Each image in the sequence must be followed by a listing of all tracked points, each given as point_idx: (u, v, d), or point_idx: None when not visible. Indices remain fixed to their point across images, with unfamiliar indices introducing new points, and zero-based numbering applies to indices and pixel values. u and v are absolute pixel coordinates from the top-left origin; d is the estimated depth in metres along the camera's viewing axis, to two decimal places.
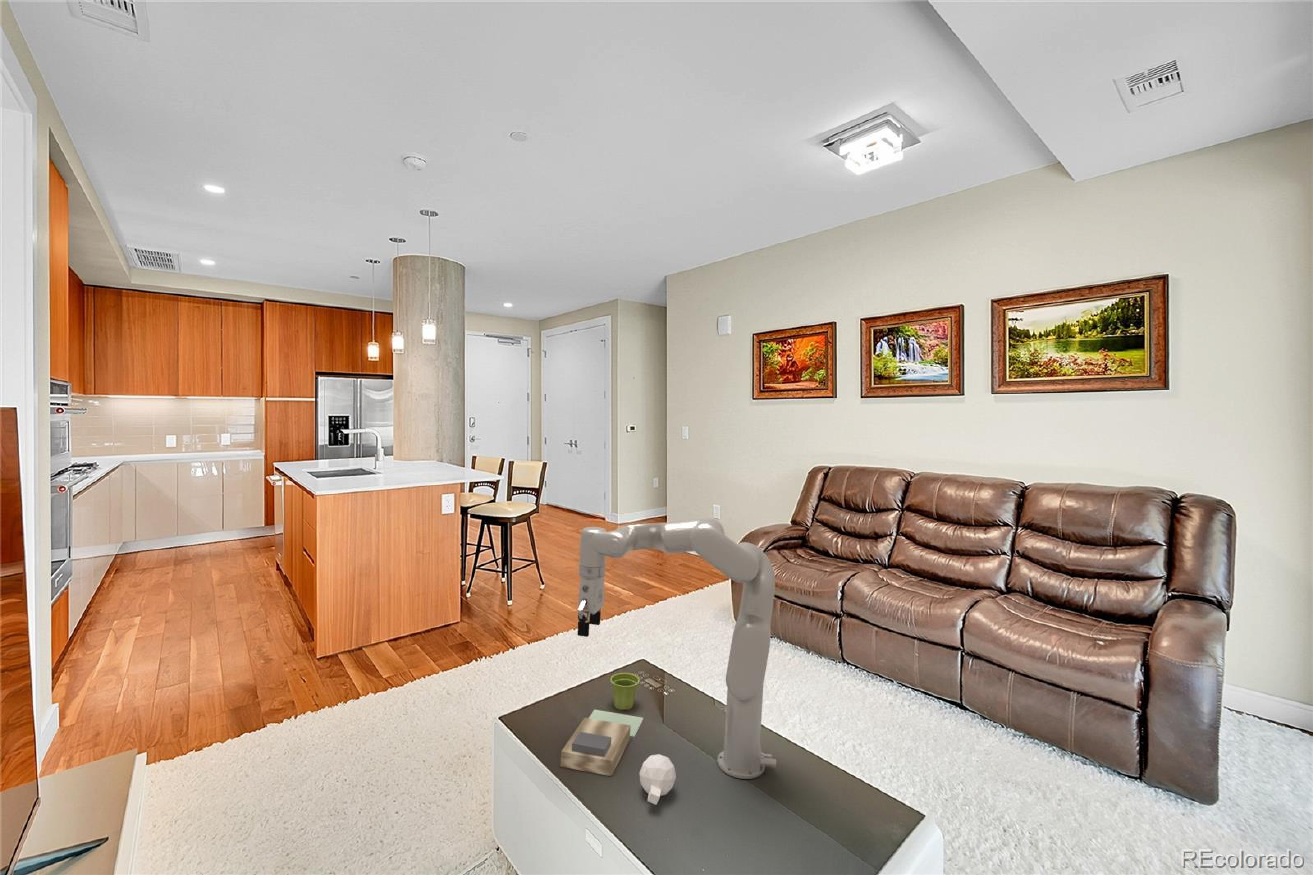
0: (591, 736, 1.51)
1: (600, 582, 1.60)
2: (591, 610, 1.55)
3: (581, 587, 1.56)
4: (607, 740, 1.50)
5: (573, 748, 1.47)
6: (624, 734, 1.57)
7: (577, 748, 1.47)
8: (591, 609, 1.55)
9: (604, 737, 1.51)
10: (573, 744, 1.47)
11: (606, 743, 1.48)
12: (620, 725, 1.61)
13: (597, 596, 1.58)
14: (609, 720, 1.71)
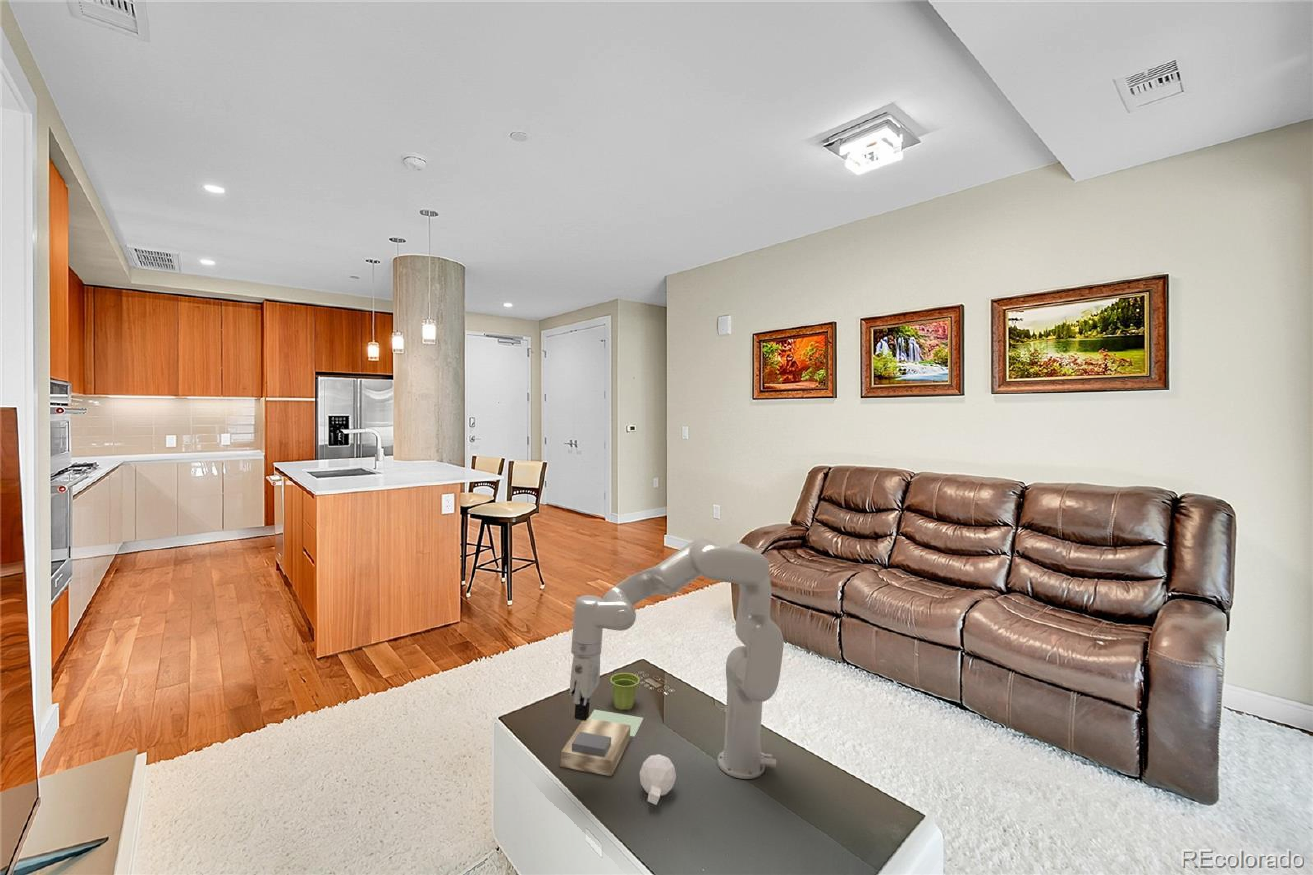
0: (591, 736, 1.51)
1: (596, 660, 1.40)
2: (584, 694, 1.36)
3: (574, 667, 1.37)
4: (607, 740, 1.50)
5: (573, 748, 1.47)
6: (624, 734, 1.57)
7: (577, 748, 1.47)
8: (585, 693, 1.36)
9: (604, 737, 1.51)
10: (573, 744, 1.47)
11: (606, 743, 1.48)
12: (620, 725, 1.61)
13: (592, 677, 1.38)
14: (609, 720, 1.71)
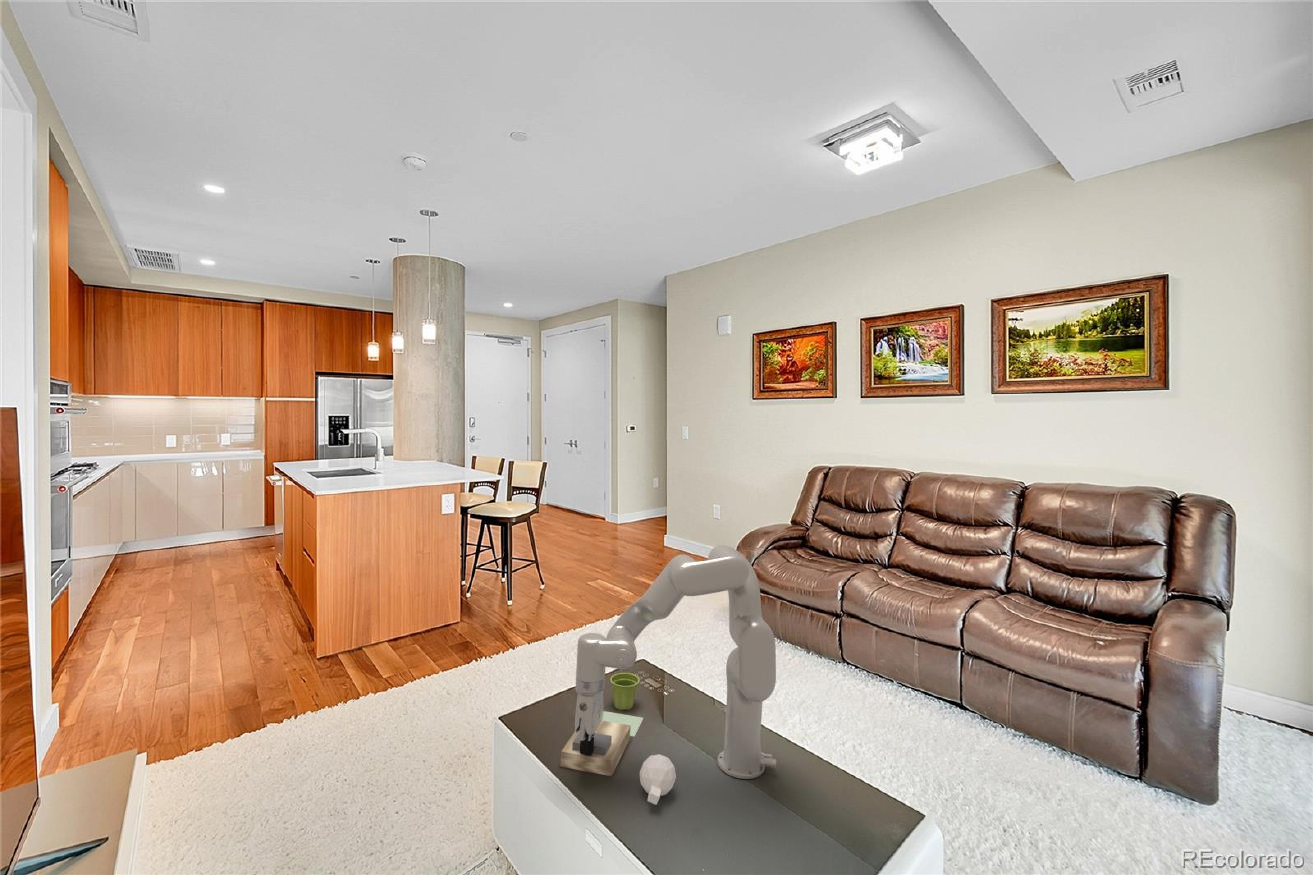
0: None
1: (599, 696, 1.45)
2: (589, 731, 1.40)
3: (578, 705, 1.41)
4: (607, 739, 1.50)
5: (574, 747, 1.48)
6: (624, 734, 1.57)
7: (578, 747, 1.48)
8: (589, 730, 1.40)
9: (604, 736, 1.52)
10: (574, 743, 1.48)
11: (607, 742, 1.49)
12: (620, 725, 1.61)
13: (596, 713, 1.42)
14: (609, 720, 1.71)
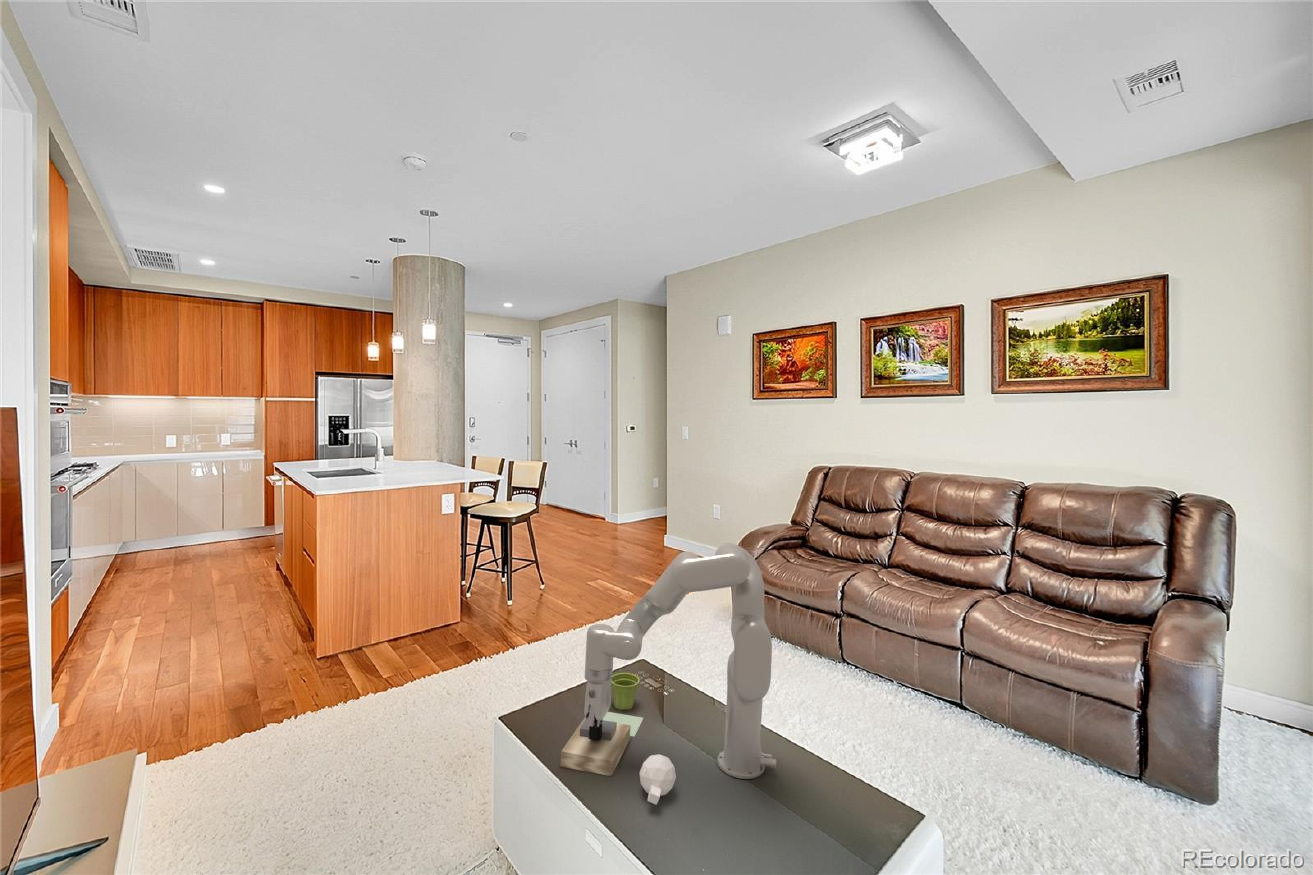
0: None
1: (607, 684, 1.52)
2: (598, 717, 1.47)
3: (587, 692, 1.48)
4: (613, 725, 1.57)
5: (581, 733, 1.55)
6: (624, 734, 1.57)
7: (585, 733, 1.54)
8: (598, 716, 1.47)
9: (610, 722, 1.59)
10: (581, 729, 1.55)
11: (612, 728, 1.56)
12: (620, 725, 1.61)
13: (604, 700, 1.49)
14: (609, 720, 1.71)
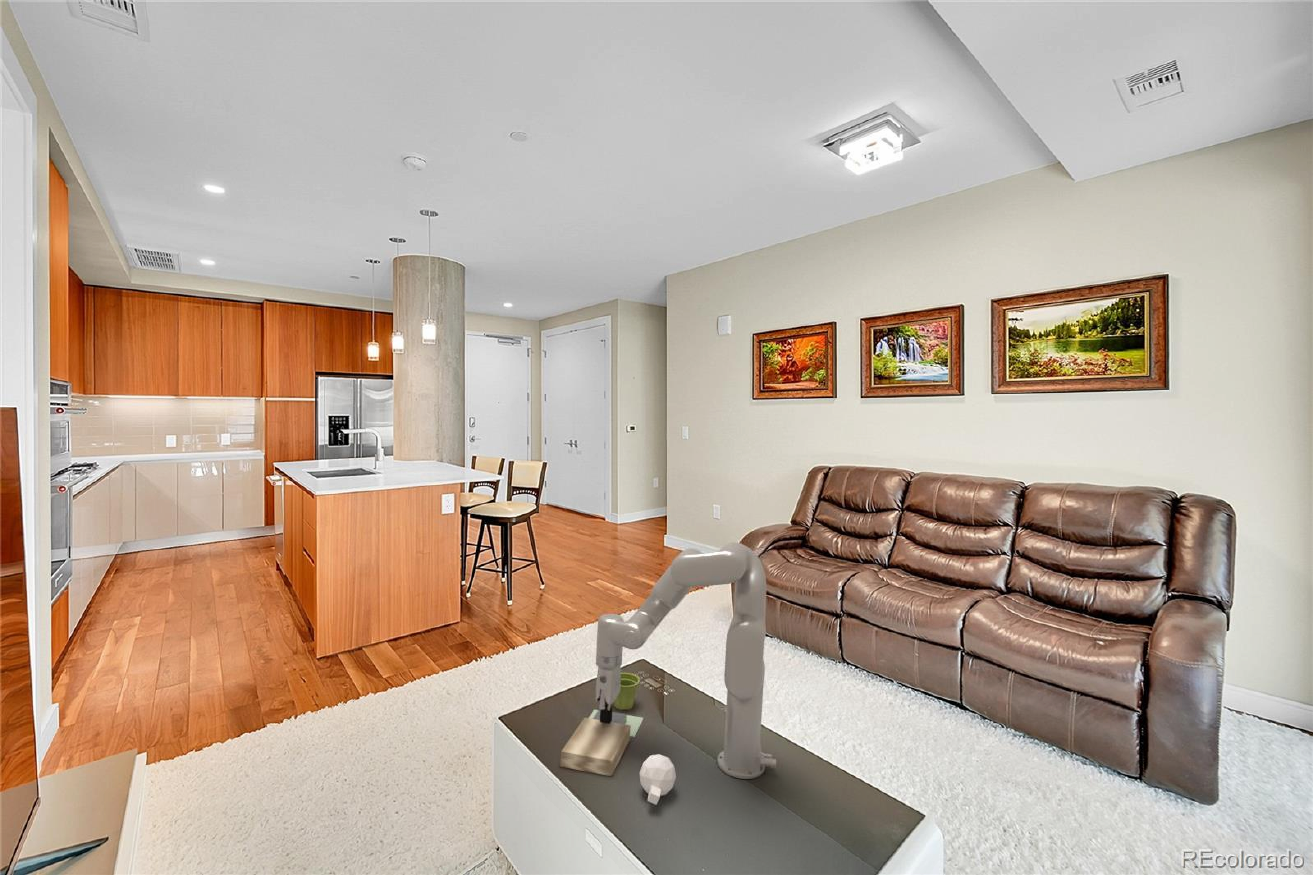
0: None
1: (617, 670, 1.61)
2: (609, 701, 1.56)
3: (599, 677, 1.57)
4: None
5: None
6: (624, 734, 1.57)
7: None
8: (609, 700, 1.56)
9: None
10: None
11: None
12: (620, 725, 1.61)
13: (614, 685, 1.58)
14: None
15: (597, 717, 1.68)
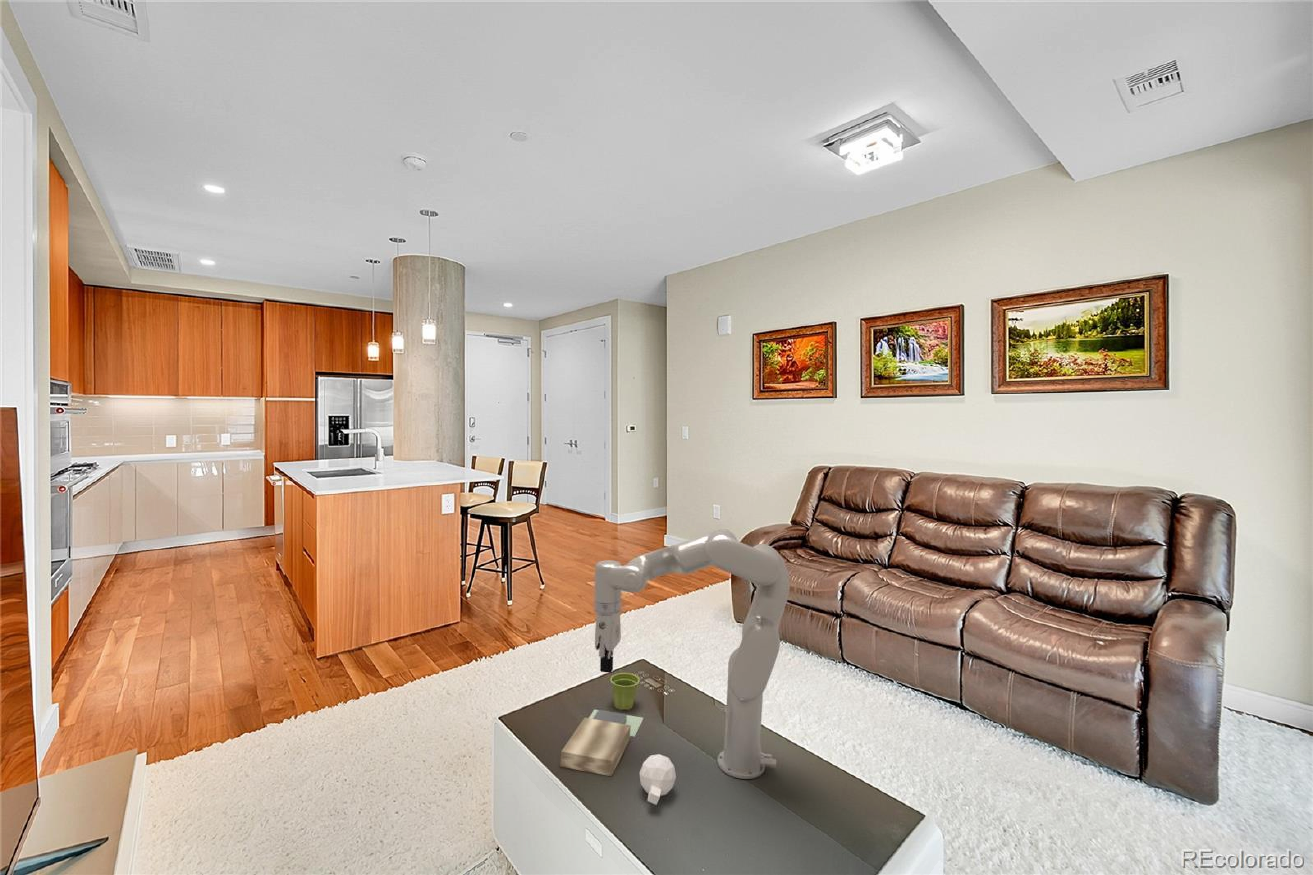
0: None
1: (617, 617, 1.56)
2: (608, 648, 1.51)
3: (597, 624, 1.52)
4: None
5: None
6: (624, 734, 1.57)
7: None
8: (608, 646, 1.51)
9: None
10: None
11: None
12: (620, 725, 1.61)
13: (614, 632, 1.54)
14: None
15: (597, 717, 1.68)
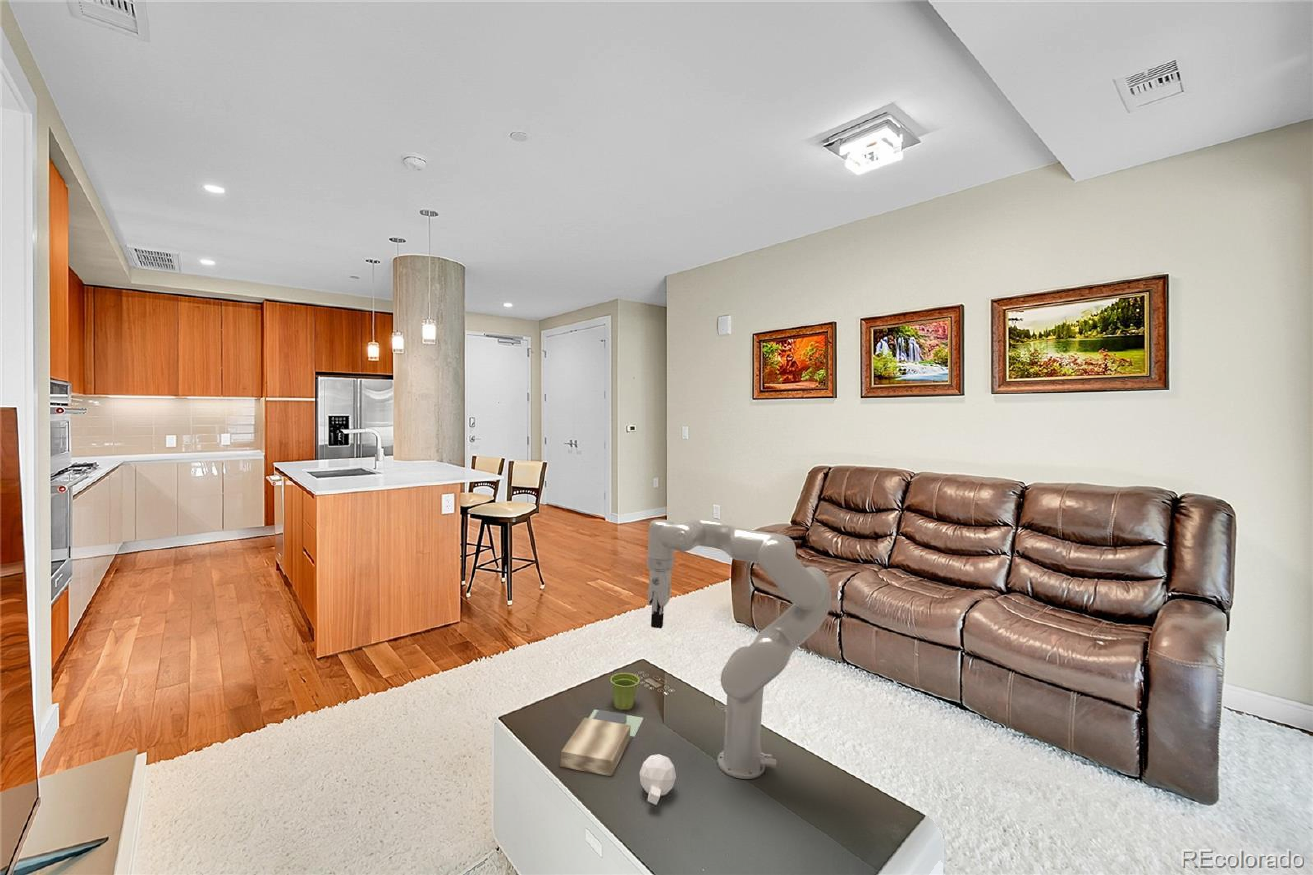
0: None
1: (669, 575, 1.60)
2: (661, 603, 1.55)
3: (651, 580, 1.56)
4: None
5: None
6: (624, 734, 1.57)
7: None
8: (662, 601, 1.55)
9: None
10: None
11: None
12: (620, 725, 1.61)
13: (666, 589, 1.58)
14: None
15: (597, 717, 1.68)
